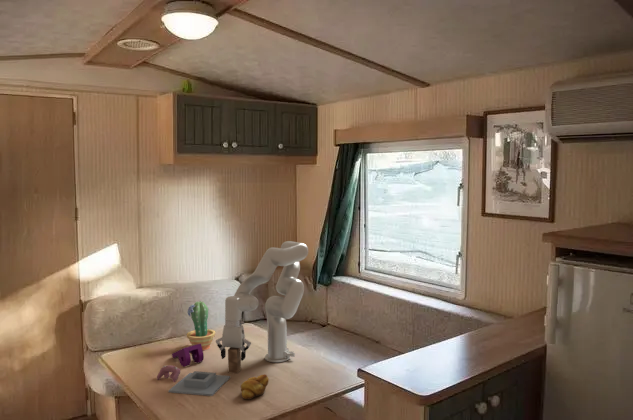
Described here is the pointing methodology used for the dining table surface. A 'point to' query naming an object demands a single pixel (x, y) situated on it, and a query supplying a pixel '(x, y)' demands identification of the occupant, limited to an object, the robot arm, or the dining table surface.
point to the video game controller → (166, 370)
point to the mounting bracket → (185, 355)
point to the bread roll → (254, 386)
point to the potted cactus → (200, 326)
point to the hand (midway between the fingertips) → (233, 358)
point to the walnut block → (234, 360)
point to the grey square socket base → (200, 383)
